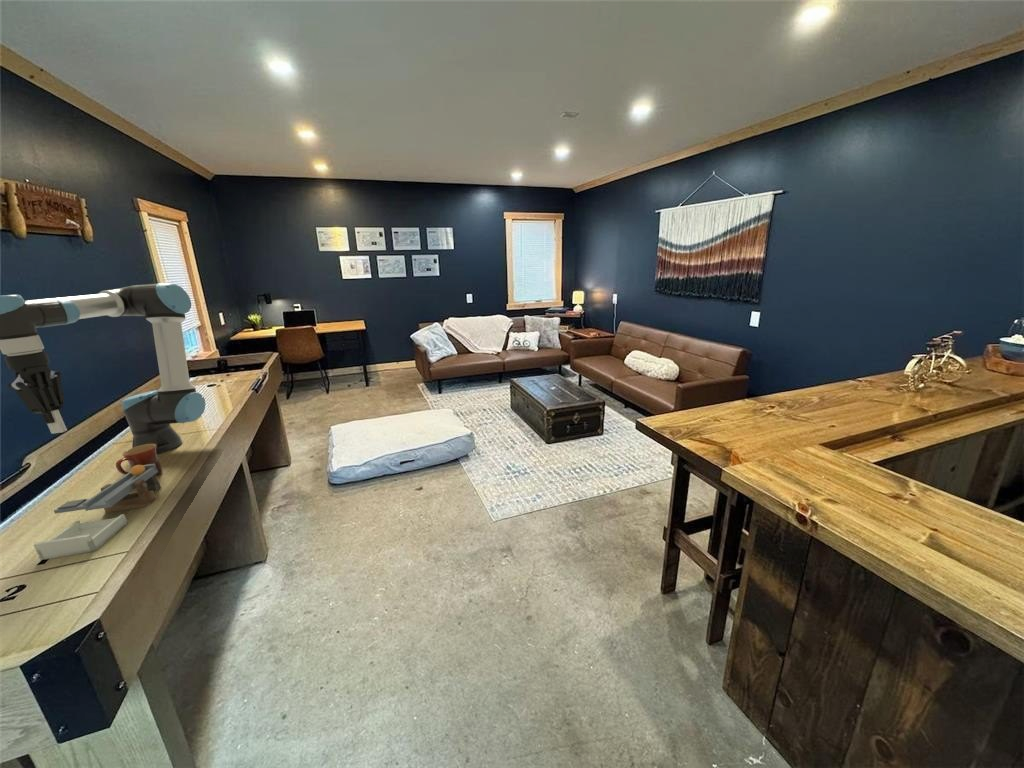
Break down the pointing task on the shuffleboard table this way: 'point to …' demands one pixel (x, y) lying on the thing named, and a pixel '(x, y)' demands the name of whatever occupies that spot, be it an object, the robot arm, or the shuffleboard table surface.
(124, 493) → the lever
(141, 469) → the ball
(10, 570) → the shuffleboard table surface
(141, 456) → the mug
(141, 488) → the fulcrum
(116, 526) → the tray
